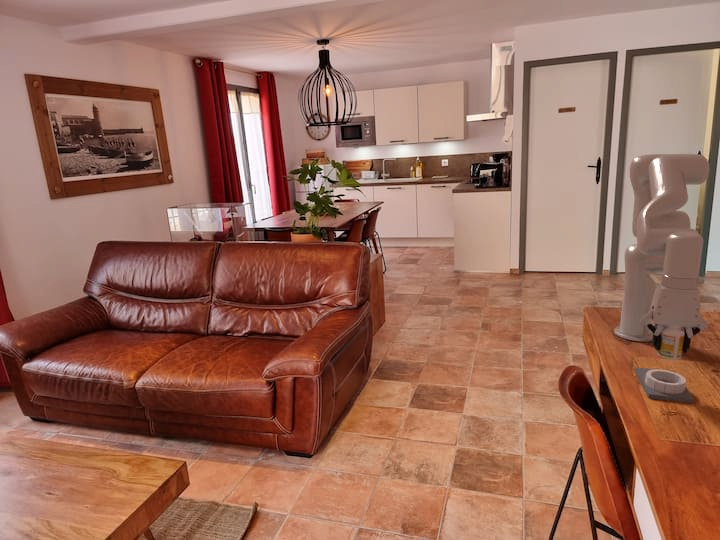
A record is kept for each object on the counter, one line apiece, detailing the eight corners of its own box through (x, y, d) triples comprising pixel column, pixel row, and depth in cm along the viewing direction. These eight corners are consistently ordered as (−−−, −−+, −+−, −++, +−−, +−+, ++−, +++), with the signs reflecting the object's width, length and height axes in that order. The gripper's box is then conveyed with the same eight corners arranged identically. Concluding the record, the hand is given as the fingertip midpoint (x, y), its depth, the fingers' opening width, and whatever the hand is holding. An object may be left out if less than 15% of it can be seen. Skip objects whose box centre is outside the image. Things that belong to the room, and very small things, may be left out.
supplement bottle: (674, 352, 129) (679, 317, 126) (685, 360, 123) (690, 324, 121) (653, 351, 129) (657, 317, 127) (663, 360, 124) (667, 324, 122)
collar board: (634, 371, 140) (636, 359, 139) (674, 375, 137) (676, 363, 136) (648, 398, 125) (650, 385, 124) (693, 403, 122) (695, 389, 121)
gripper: (713, 280, 122) (703, 347, 127) (637, 276, 128) (629, 341, 132) (725, 288, 116) (713, 358, 120) (644, 284, 121) (635, 352, 125)
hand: (669, 348), depth 126 cm, fingers closed on supplement bottle, 5 cm apart
